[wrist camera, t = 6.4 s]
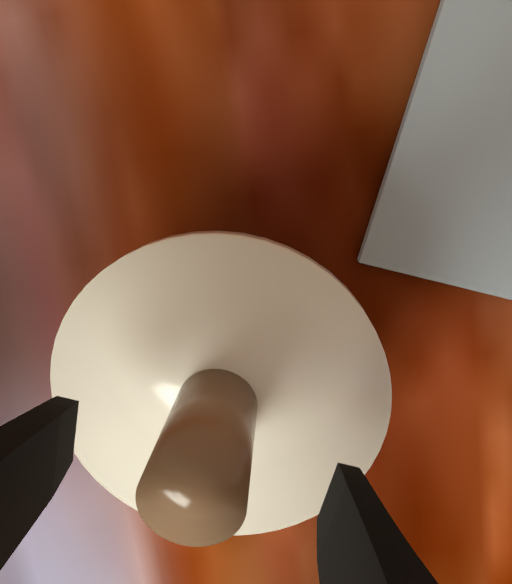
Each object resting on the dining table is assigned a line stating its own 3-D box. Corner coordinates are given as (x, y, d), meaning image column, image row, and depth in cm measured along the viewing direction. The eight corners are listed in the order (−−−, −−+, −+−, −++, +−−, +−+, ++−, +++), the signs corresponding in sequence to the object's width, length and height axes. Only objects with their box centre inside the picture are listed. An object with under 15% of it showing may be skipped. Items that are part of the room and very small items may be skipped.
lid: (441, 289, 12) (531, 366, 8) (322, 548, 16) (338, 704, 11) (87, 184, 12) (-31, 202, 8) (45, 472, 16) (-52, 601, 11)
